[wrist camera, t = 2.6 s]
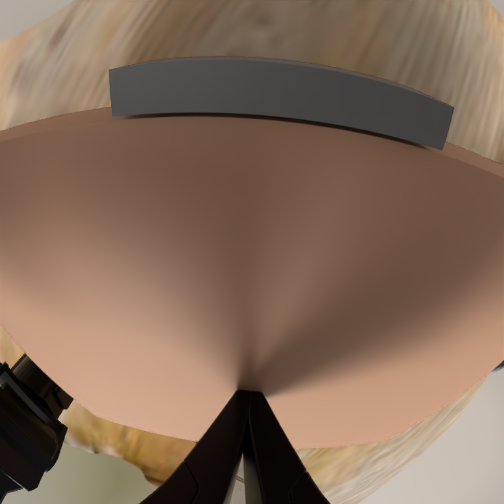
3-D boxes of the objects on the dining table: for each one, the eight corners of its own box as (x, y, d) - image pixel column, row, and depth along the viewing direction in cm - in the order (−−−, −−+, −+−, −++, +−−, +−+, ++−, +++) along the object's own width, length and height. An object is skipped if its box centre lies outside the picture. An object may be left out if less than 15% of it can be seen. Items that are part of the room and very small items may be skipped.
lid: (102, 395, 16) (95, 418, 15) (-49, 125, 4) (-90, 155, 2) (383, 419, 16) (385, 443, 15) (577, 182, 4) (611, 218, 2)
